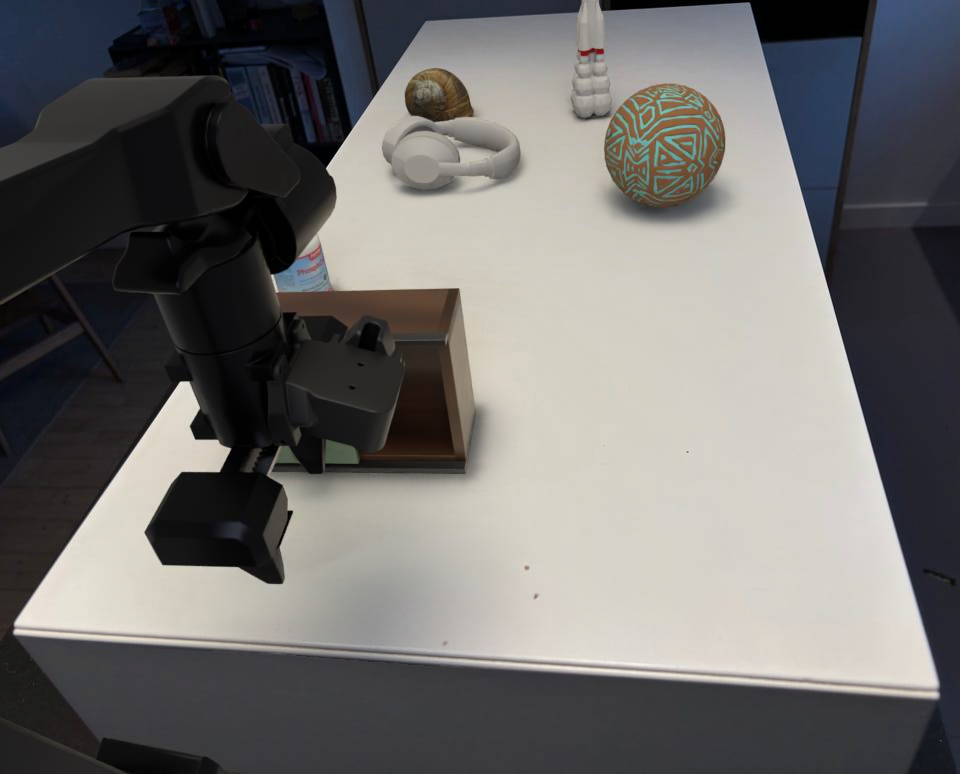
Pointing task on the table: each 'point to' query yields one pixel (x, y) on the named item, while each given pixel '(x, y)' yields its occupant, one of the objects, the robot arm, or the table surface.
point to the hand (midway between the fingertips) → (297, 523)
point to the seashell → (437, 96)
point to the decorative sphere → (664, 145)
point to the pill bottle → (306, 271)
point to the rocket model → (590, 63)
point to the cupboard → (410, 375)
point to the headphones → (447, 150)
